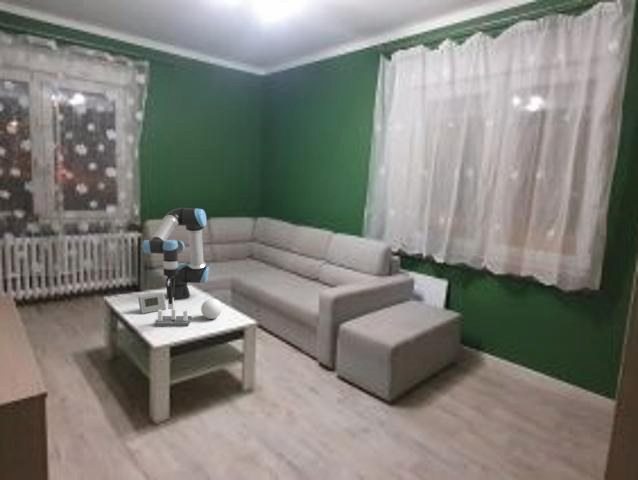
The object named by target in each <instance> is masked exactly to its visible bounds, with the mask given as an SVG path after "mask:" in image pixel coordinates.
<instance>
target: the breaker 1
mask: <svg viewBox="0 0 638 480" xmlns="http://www.w3.org/2000/svg"><path fill="white" fill-rule="evenodd" d="M163 312H164V311H163V310H158V311H157V320H158V321H162V320H163V316H164V315H163Z"/></svg>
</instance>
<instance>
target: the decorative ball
mask: <svg viewBox="0 0 638 480" xmlns="http://www.w3.org/2000/svg"><path fill="white" fill-rule="evenodd" d="M200 308H201V309H200V311H201V314H202V315H203V317H204V318H206V319H208V320H209V319H210V320H214V319H216V318H218V317H219V316H220V315H221V313H222V310H223V309H222V303H221V302H220V301H219V300H218V299H216V298H208V299H206V300H205V301H204V302H203V303H202V305H201V307H200Z"/></svg>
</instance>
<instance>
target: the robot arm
mask: <svg viewBox="0 0 638 480" xmlns="http://www.w3.org/2000/svg"><path fill="white" fill-rule="evenodd" d="M206 225H207V213H206V212H205V210H204V209H202V208H193V207H192V208H190V207H178V208H174V209H173V210H170V211H169V212H167V213H166V214H165V215H164V217H163V218H162V223H161V224H160V226H159V227H158V228H157V230H156V231H155V233H154V234H153V236H152V237H151V239H145V240H143V242H142V252H143V253H145V254H151V255H152V254H157V255H159V254H160V255H163V257H162V258H163V261H162V264H163V270H162V271H163V276H165V277H167V278H166V283H165V286H166V299H167V309H168V310H172V309H174V307H175V306H174V305H175V303H174V301H175V300H185V299H188V298H189V297H190V296H191V295H190V294H191V293H190V292H191V291H190V290H189V287H188V284H189V283H191V284H206V283H207V281H208V279H209V276H210V266H207V263H206V262H205V260H204V258H205V257H204V243H203V230H204V229H205V227H206ZM178 226H184V227H185V230H186V231H188V242H189V256H190V263H189V264H187V263H185V262H181V263H179V262H178V261H179V259H178V257H179V255H180V254H182V253H183V252H184V251H185V248H186V247H185V243H184V242H183V241H182V240H178V239H177V240H176V239H168V238H169V237H170V235H171V234H172V232H173V230H174V229H175V228H177V227H178Z"/></svg>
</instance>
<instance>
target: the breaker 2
mask: <svg viewBox="0 0 638 480" xmlns="http://www.w3.org/2000/svg"><path fill="white" fill-rule="evenodd" d="M188 311H189V310H188V309H183V311H182V312H183V313H182V316H183V321H187V320H188V316H189V315H188V313H189V312H188Z"/></svg>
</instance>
